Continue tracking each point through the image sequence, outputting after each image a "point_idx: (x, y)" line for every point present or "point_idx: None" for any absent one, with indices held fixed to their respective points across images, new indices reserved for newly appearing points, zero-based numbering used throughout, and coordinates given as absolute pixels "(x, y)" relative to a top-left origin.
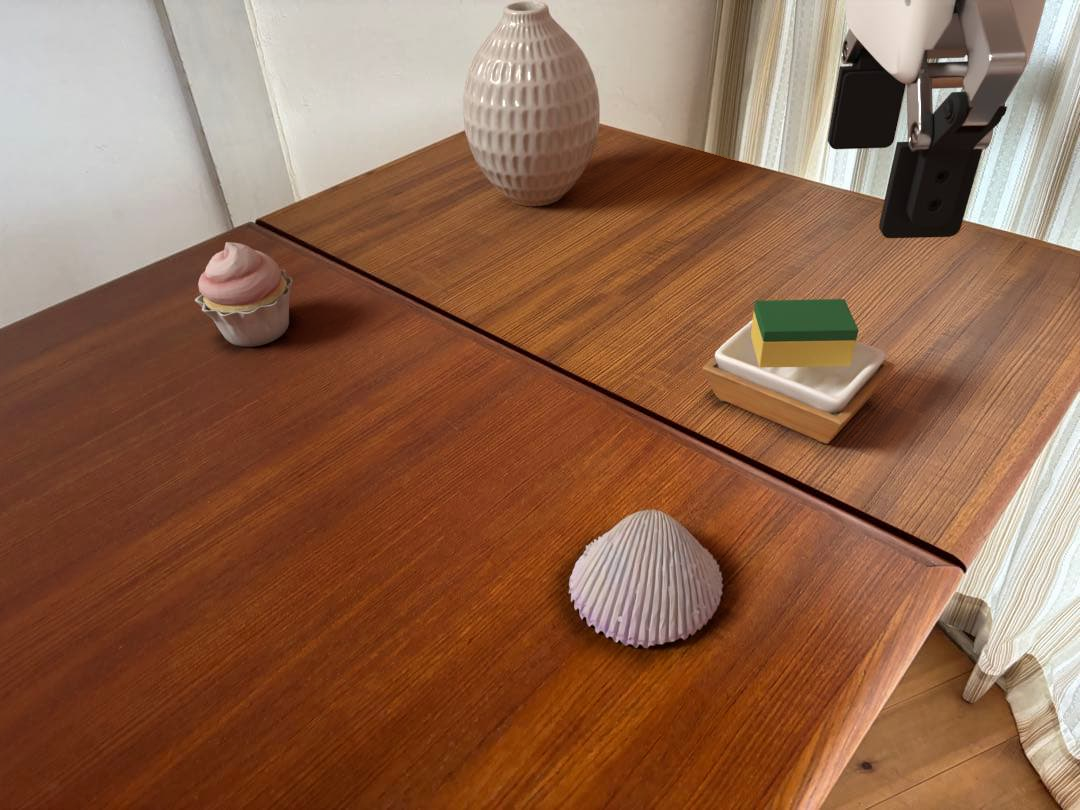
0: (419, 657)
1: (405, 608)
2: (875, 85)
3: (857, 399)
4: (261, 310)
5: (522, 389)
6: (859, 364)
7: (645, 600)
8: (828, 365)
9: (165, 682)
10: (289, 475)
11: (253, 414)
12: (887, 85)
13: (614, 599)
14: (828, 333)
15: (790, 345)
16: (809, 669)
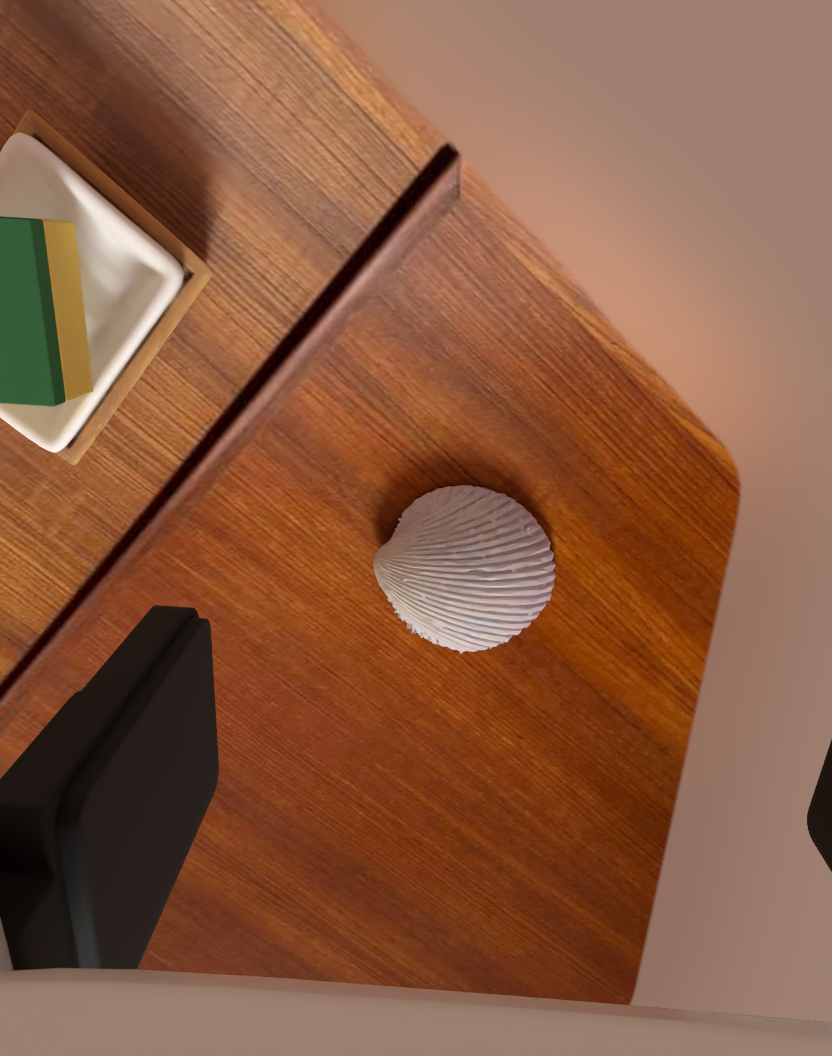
0: (535, 778)
1: (473, 792)
2: (121, 870)
3: (145, 222)
4: None
5: None
6: (36, 183)
7: (524, 595)
8: (78, 266)
9: (536, 954)
10: (278, 906)
11: (175, 951)
12: (115, 825)
13: (511, 621)
14: (42, 281)
15: (64, 348)
16: (601, 407)
